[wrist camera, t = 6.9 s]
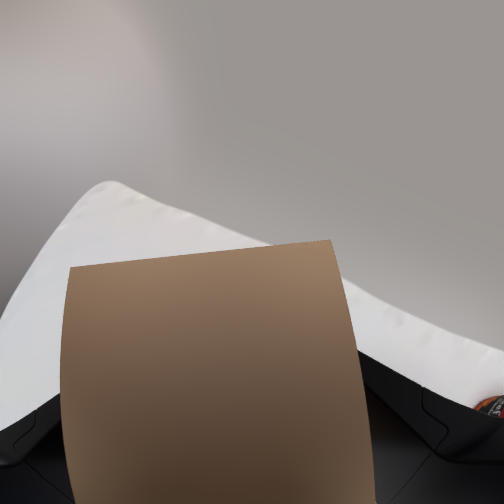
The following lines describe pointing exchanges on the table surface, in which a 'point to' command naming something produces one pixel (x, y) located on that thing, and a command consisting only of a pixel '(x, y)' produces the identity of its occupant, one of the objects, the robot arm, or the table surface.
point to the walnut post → (214, 381)
